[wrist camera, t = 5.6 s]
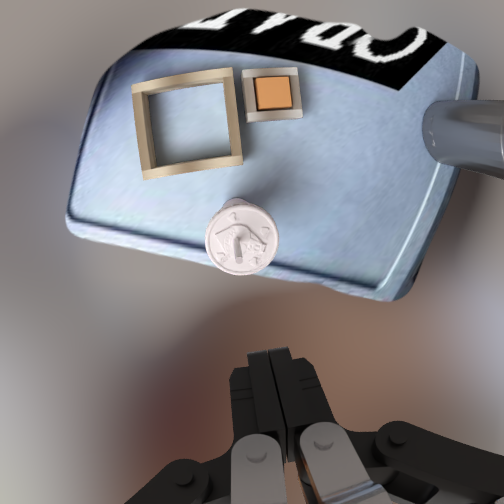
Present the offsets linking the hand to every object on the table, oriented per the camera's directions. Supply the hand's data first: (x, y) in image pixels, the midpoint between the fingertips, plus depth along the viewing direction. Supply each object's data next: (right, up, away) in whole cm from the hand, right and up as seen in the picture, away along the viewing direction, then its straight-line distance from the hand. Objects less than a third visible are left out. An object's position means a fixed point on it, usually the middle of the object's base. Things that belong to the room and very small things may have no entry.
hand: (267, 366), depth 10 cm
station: (-4, +19, +19) cm, 27 cm away
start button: (+1, +21, +18) cm, 27 cm away
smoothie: (-2, +9, +24) cm, 25 cm away
